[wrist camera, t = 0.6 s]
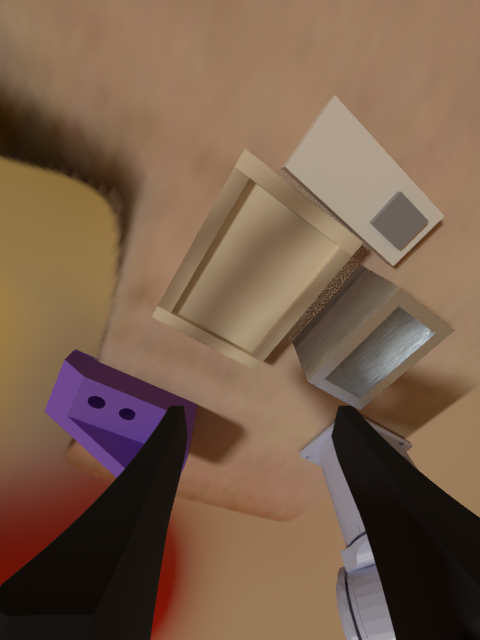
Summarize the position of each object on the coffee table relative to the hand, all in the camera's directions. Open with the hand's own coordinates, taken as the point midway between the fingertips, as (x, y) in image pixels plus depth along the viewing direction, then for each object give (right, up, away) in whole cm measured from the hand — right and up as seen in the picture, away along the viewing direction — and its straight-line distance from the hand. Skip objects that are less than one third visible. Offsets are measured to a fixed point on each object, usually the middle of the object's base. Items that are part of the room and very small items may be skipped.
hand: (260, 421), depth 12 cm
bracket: (-12, -3, +13) cm, 18 cm away
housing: (+8, +5, +9) cm, 13 cm away
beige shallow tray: (0, +8, +7) cm, 11 cm away
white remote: (+7, +13, +5) cm, 16 cm away
